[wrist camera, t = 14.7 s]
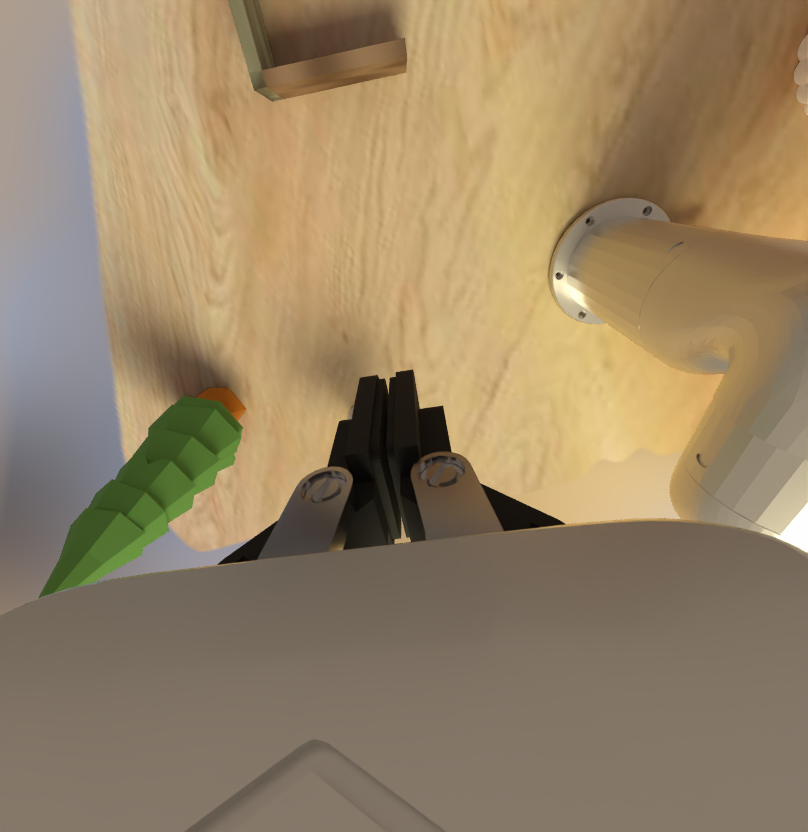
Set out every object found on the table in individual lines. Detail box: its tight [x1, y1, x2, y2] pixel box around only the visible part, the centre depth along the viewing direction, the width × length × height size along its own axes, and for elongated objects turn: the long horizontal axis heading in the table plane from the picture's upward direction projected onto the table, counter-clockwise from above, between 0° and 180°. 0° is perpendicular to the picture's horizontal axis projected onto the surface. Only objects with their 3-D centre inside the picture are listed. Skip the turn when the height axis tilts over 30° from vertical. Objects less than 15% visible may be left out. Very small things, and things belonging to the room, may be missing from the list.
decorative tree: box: [39, 387, 246, 598], centre depth 37 cm, size 10×9×30 cm
